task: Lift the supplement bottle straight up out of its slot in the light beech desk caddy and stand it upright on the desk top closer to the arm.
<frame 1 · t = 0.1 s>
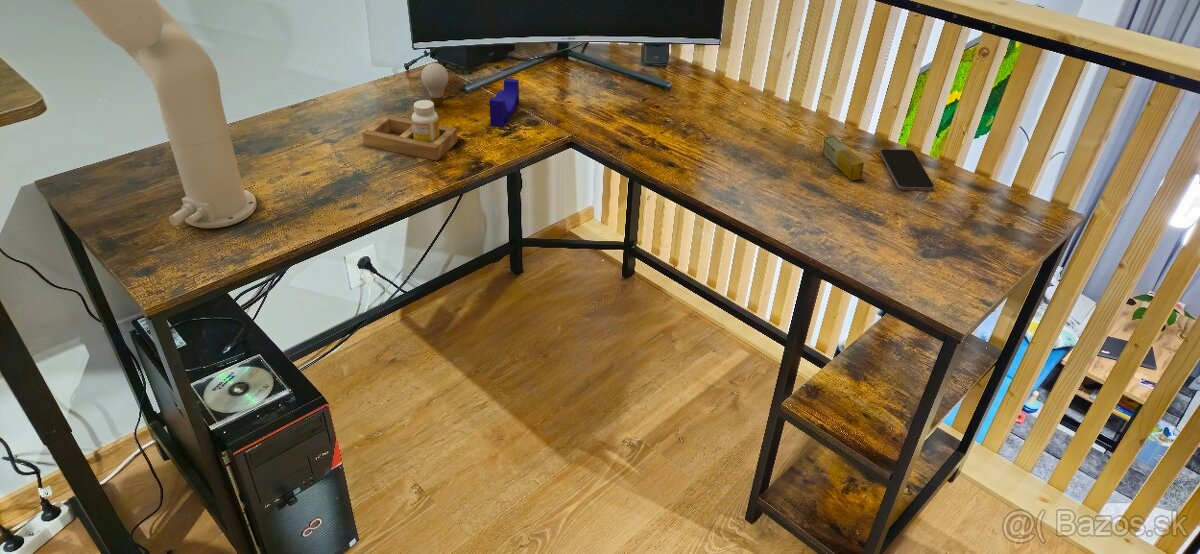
light bulb: (437, 107, 190), on the table
medication box: (840, 168, 173), on the table
cable clip: (502, 115, 188), on the table
smartphone: (904, 172, 172), on the table
caddy: (411, 143, 175), on the table
supplement bottle: (427, 147, 174), resting in caddy
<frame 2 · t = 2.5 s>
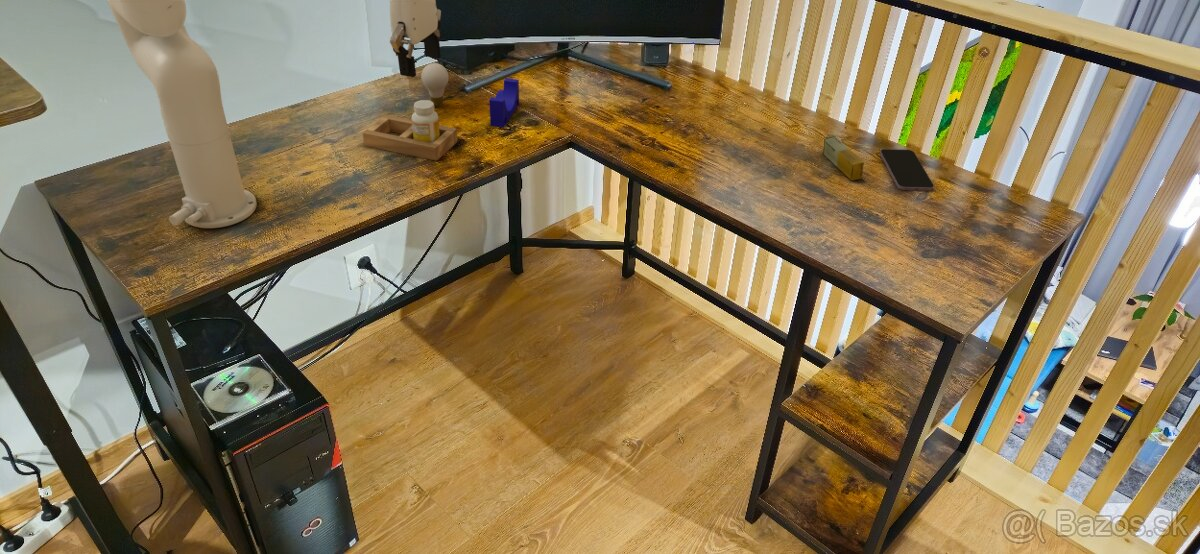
hand: (420, 66, 164), 18 cm above the table, tool pointing down, fingers open, 9 cm apart
nothing on the table moved.
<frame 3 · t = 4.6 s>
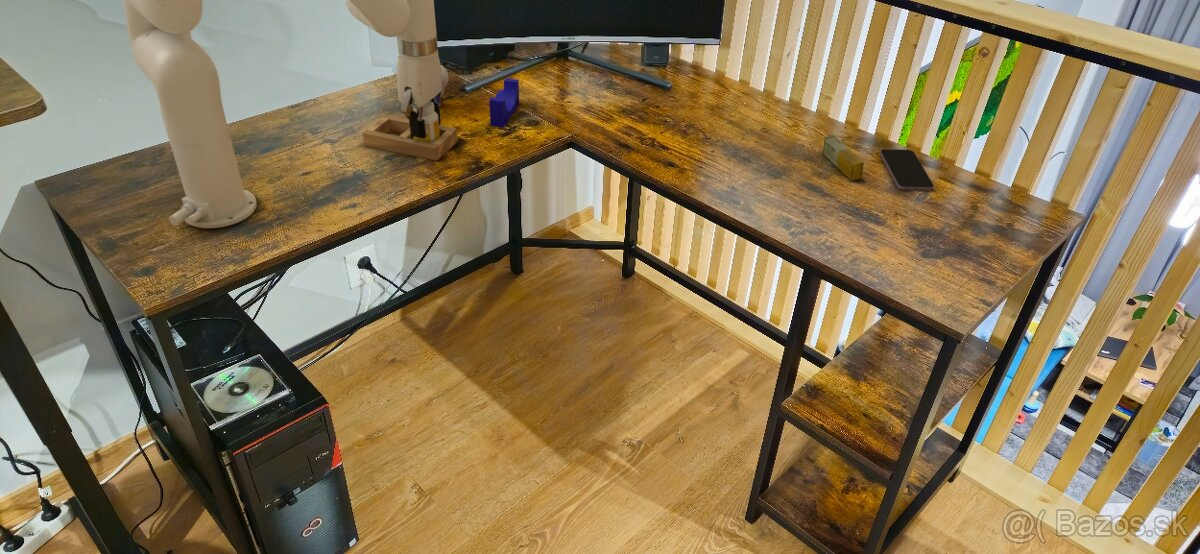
hand: (426, 129, 172), 4 cm above the table, tool pointing down, fingers closed on supplement bottle, 5 cm apart
supplement bottle: (427, 147, 174), resting in caddy, touching gripper
everything else where it was.
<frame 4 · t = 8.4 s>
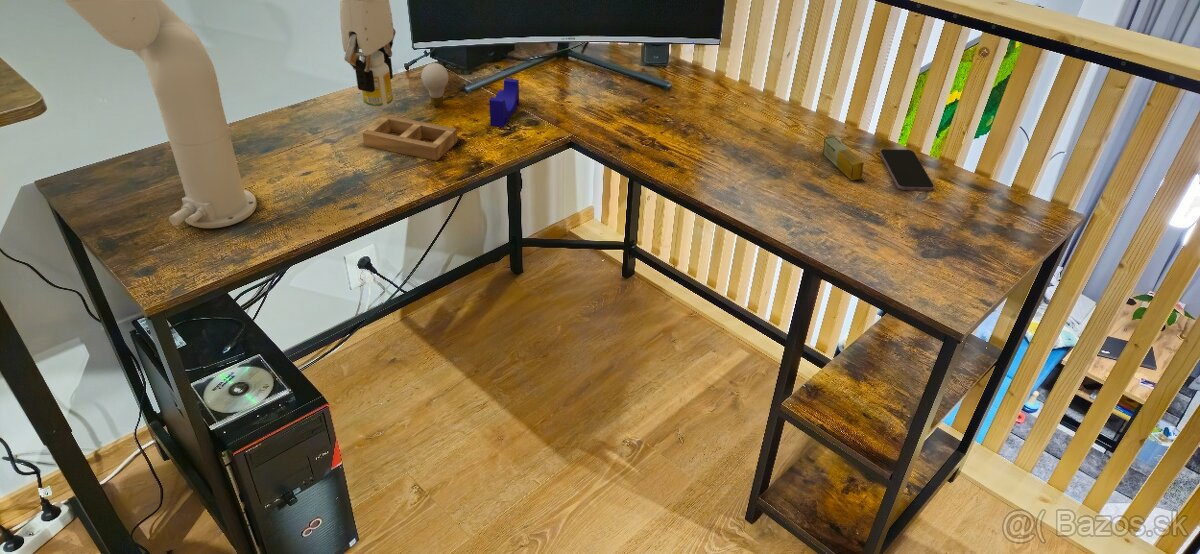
hand: (375, 83, 154), 19 cm above the table, tool pointing down, fingers closed on supplement bottle, 5 cm apart
supplement bottle: (379, 104, 157), point 14 cm above the table, touching gripper
everything else where it was.
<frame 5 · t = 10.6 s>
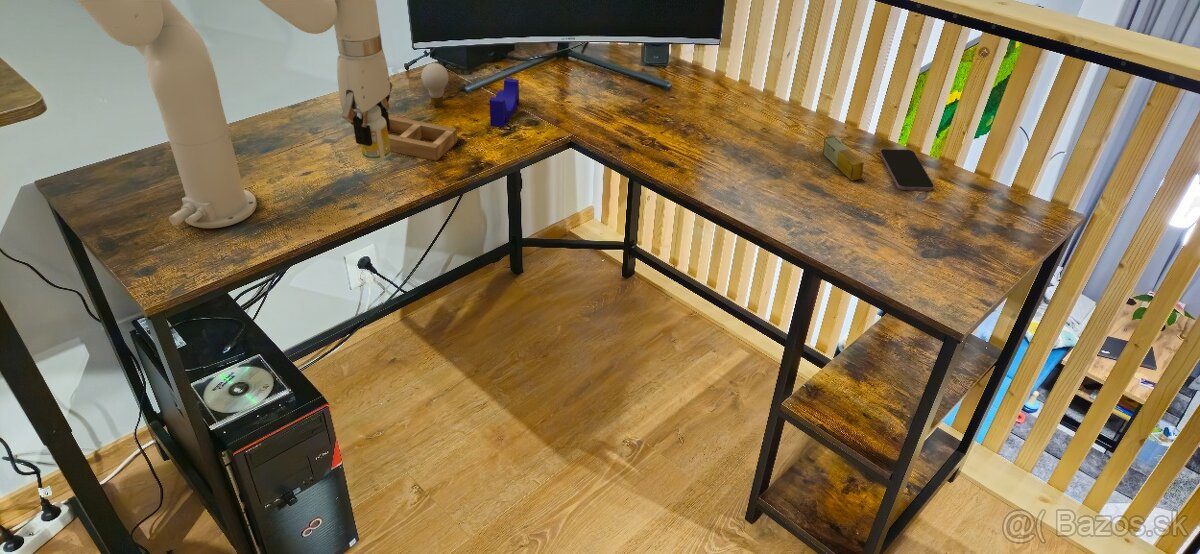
hand: (373, 136, 158), 9 cm above the table, tool pointing down, fingers closed on supplement bottle, 5 cm apart
supplement bottle: (377, 155, 161), point 5 cm above the table, touching gripper
everything else where it was.
when the fingers open (4 cm above the table, at t = 12.3 s): supplement bottle stays where it is, on the table.
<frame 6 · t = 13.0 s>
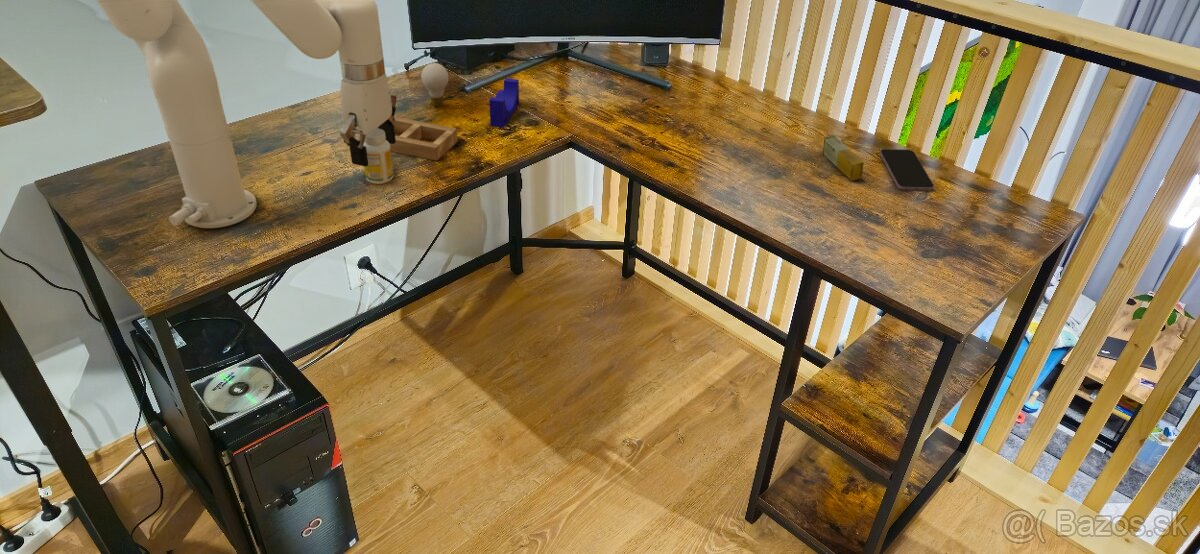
hand: (374, 153, 160), 5 cm above the table, tool pointing down, fingers open, 9 cm apart
supplement bottle: (380, 178, 164), on the table
everything else where it was.
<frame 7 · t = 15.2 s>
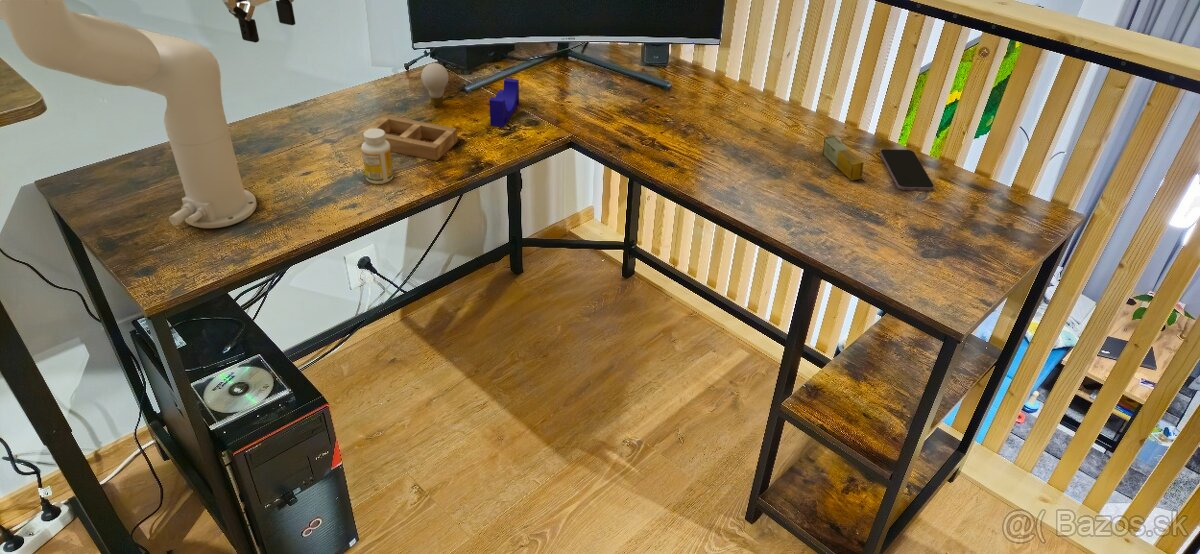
hand: (269, 32, 151), 27 cm above the table, tool pointing down, fingers open, 9 cm apart
nothing on the table moved.
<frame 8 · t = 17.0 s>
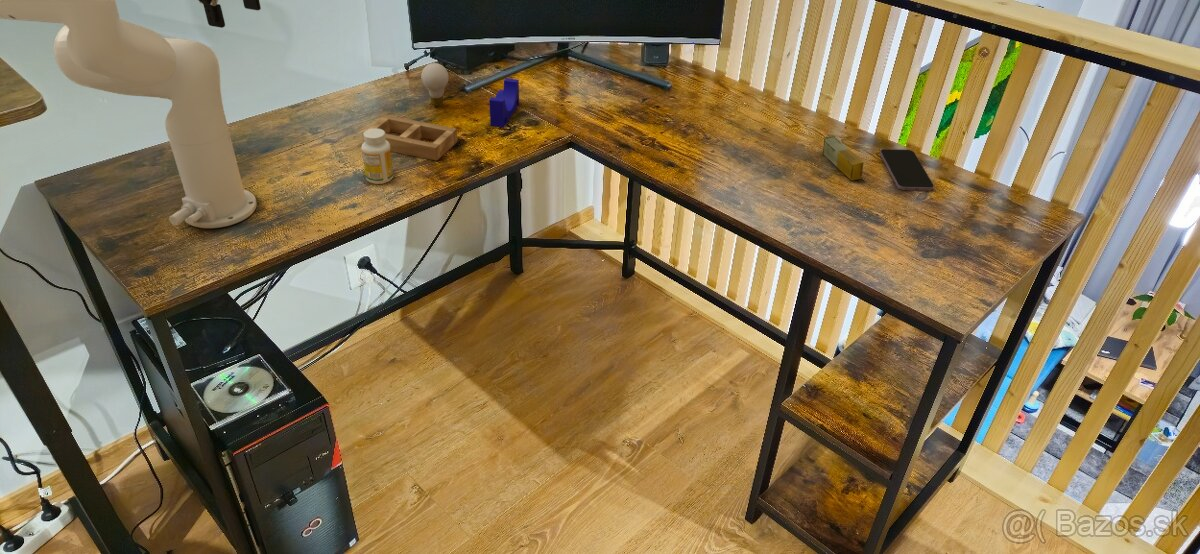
hand: (235, 17, 152), 28 cm above the table, tool pointing down, fingers open, 9 cm apart
nothing on the table moved.
at the end: supplement bottle inside the target area (0.3 cm from its centre), on the table; supplement bottle tilted 0°; the gripper is holding nothing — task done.
